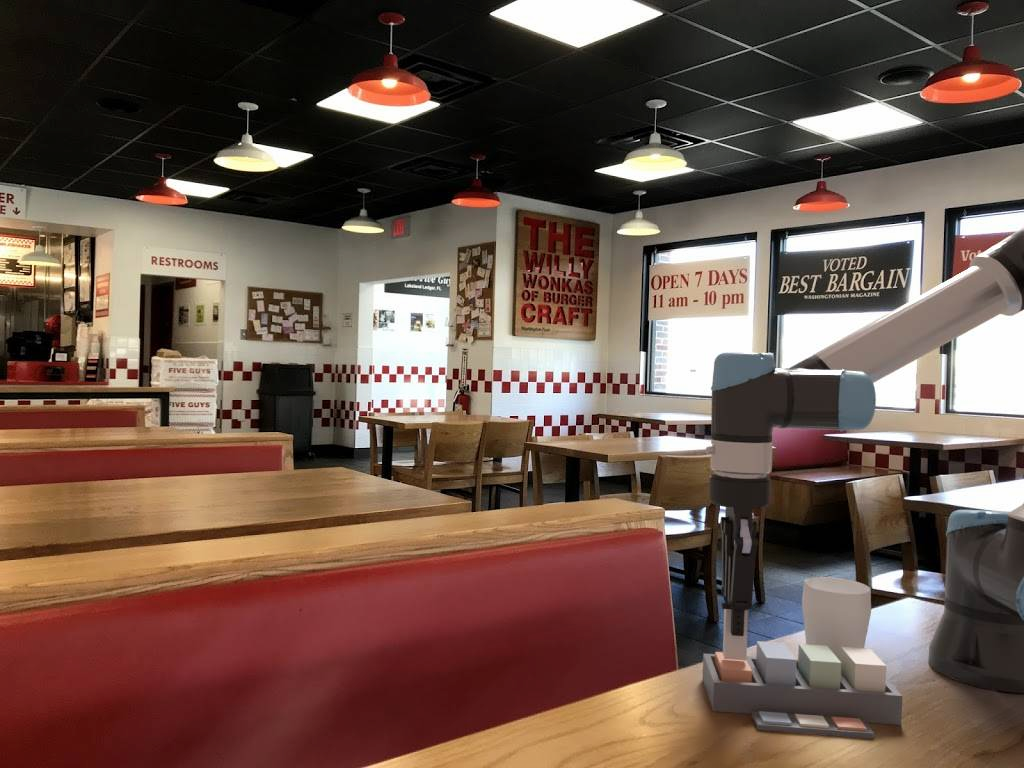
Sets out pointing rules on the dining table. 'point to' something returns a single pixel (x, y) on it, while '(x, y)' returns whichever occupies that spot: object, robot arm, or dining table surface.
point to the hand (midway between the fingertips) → (734, 657)
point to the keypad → (800, 697)
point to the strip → (812, 724)
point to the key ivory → (863, 669)
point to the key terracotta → (732, 669)
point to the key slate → (776, 663)
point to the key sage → (819, 666)
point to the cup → (836, 613)
